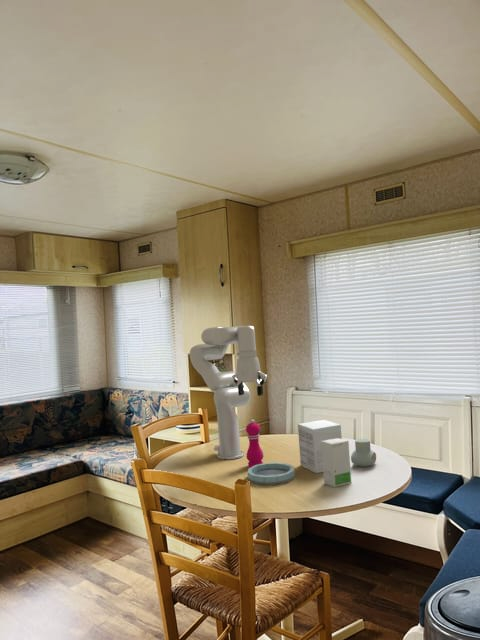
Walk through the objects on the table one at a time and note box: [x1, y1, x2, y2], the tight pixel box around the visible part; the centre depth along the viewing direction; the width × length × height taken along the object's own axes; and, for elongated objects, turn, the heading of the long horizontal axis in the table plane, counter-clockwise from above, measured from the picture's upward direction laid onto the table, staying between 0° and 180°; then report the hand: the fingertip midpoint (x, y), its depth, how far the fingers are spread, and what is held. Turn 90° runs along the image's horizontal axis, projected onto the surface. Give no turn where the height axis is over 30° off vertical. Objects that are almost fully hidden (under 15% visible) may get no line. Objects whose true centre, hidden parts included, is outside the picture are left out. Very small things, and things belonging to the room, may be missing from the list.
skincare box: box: [321, 438, 352, 488], centre depth 176 cm, size 8×7×16 cm
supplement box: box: [297, 419, 343, 474], centre depth 197 cm, size 13×13×18 cm
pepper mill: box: [245, 418, 265, 469], centre depth 204 cm, size 7×7×20 cm
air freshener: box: [350, 438, 377, 468], centre depth 195 cm, size 11×8×10 cm
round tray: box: [247, 461, 296, 486], centre depth 188 cm, size 18×18×3 cm
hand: (250, 395), depth 204 cm, fingers open, 9 cm apart
